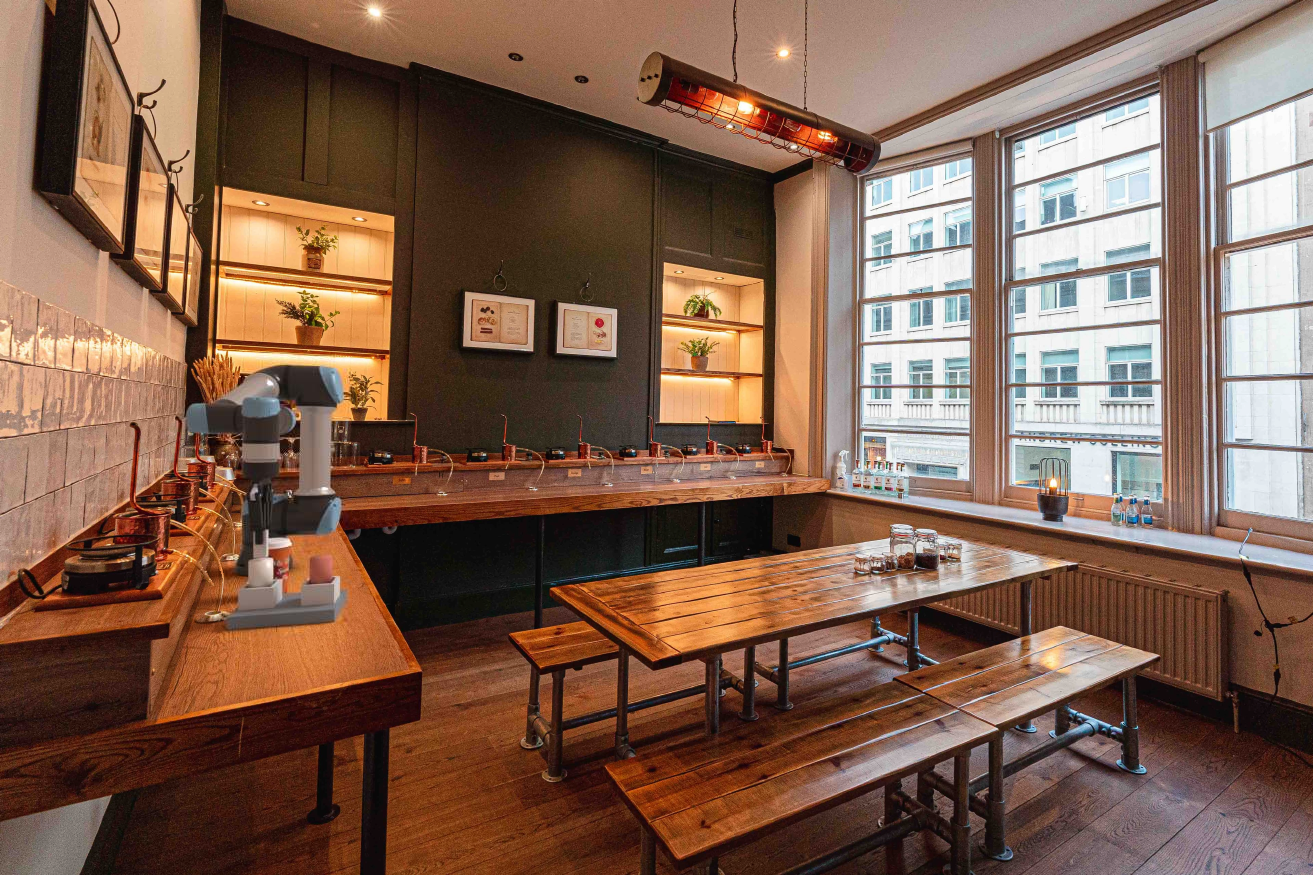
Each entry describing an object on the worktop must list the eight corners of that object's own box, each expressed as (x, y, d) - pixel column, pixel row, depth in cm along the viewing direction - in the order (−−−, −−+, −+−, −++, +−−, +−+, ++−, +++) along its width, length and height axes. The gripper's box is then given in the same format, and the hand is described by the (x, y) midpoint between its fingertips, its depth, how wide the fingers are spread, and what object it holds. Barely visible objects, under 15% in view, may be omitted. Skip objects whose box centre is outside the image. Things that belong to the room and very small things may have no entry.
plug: (252, 585, 142) (252, 558, 142) (275, 584, 144) (275, 556, 143) (245, 592, 137) (245, 563, 137) (269, 590, 139) (269, 562, 139)
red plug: (312, 582, 146) (312, 555, 146) (334, 581, 148) (334, 554, 148) (307, 588, 142) (307, 560, 141) (330, 586, 143) (330, 559, 143)
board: (250, 607, 147) (250, 576, 147) (346, 600, 154) (347, 571, 154) (226, 629, 132) (226, 595, 131) (334, 621, 139) (334, 588, 139)
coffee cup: (278, 599, 153) (278, 544, 152) (248, 598, 153) (248, 543, 152) (298, 590, 161) (298, 537, 161) (269, 589, 161) (270, 536, 161)
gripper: (252, 458, 144) (252, 551, 145) (232, 463, 132) (232, 564, 133) (286, 458, 147) (286, 549, 148) (270, 463, 134) (270, 562, 135)
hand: (260, 556), depth 140 cm, fingers closed
